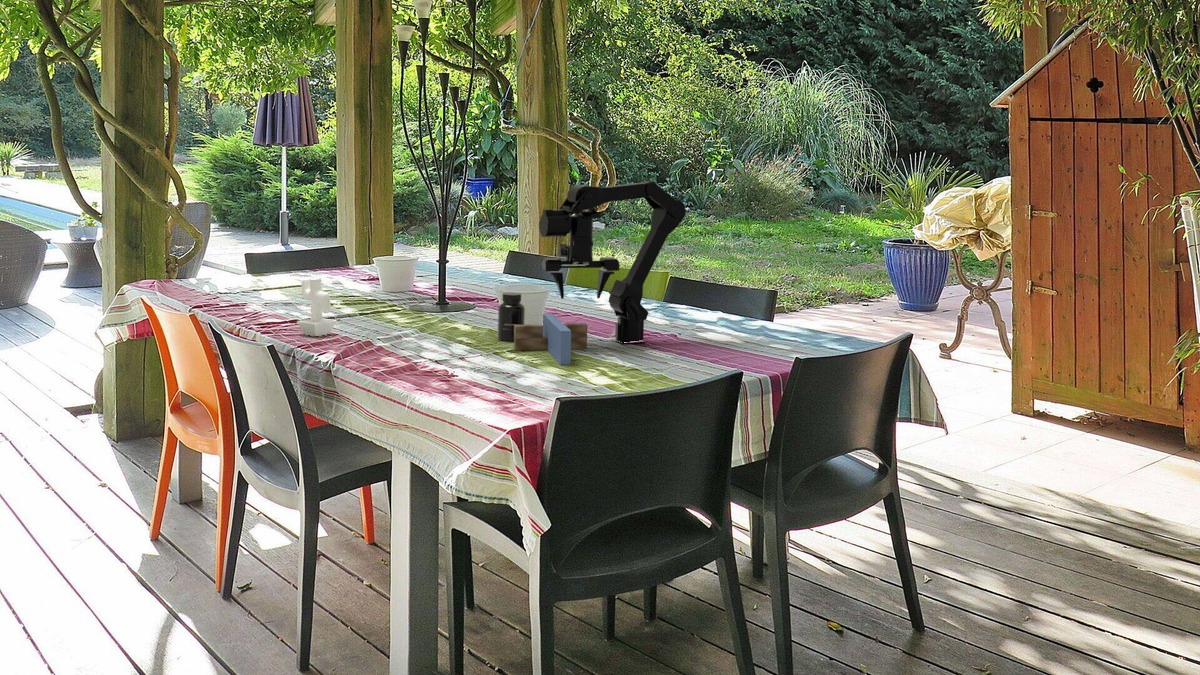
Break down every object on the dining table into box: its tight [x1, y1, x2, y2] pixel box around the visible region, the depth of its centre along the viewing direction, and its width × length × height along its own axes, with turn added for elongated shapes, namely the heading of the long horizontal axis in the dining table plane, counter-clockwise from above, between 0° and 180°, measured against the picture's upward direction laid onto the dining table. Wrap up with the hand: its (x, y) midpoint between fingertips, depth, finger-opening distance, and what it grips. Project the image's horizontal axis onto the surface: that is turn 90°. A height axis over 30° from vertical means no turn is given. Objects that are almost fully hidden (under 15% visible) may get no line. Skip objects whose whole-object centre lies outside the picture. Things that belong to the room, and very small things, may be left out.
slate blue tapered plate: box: [542, 313, 572, 366], centre depth 251 cm, size 24×2×8 cm, turn 13°
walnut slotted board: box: [513, 322, 588, 352], centre depth 258 cm, size 18×2×6 cm, turn 103°
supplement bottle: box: [497, 292, 526, 343], centre depth 268 cm, size 7×7×12 cm
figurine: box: [296, 276, 338, 337], centre depth 270 cm, size 7×9×15 cm
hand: (580, 298), depth 261 cm, fingers open, 9 cm apart
